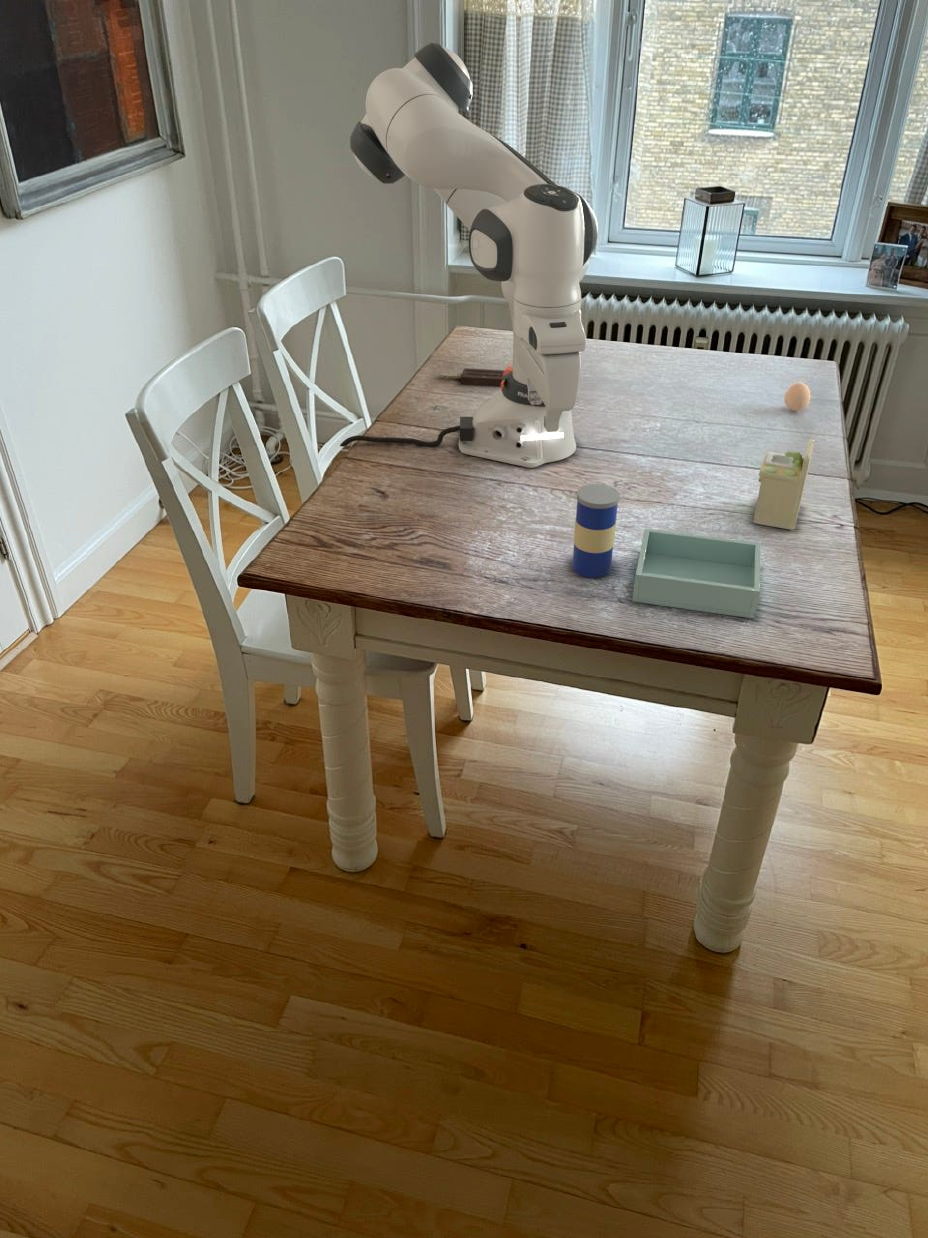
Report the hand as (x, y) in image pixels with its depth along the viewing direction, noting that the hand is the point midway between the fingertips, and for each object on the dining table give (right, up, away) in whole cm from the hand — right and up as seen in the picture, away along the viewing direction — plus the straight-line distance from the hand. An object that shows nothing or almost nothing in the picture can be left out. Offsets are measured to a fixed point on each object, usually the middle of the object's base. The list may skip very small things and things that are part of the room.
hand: (542, 416), depth 137 cm
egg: (+57, +14, +63) cm, 86 cm away
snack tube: (+9, -21, +14) cm, 27 cm away
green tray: (+24, -24, +10) cm, 35 cm away
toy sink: (+42, -11, +27) cm, 51 cm away
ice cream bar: (-9, +24, +75) cm, 80 cm away
